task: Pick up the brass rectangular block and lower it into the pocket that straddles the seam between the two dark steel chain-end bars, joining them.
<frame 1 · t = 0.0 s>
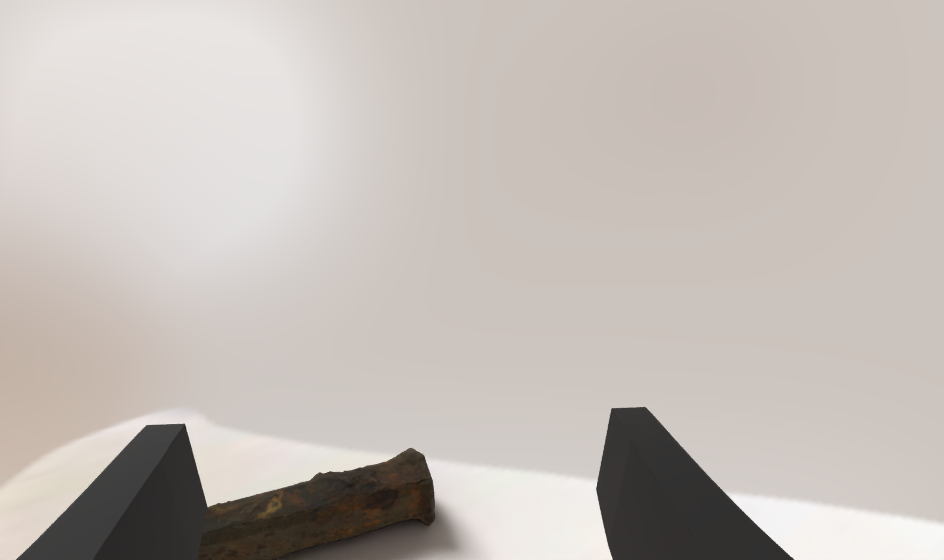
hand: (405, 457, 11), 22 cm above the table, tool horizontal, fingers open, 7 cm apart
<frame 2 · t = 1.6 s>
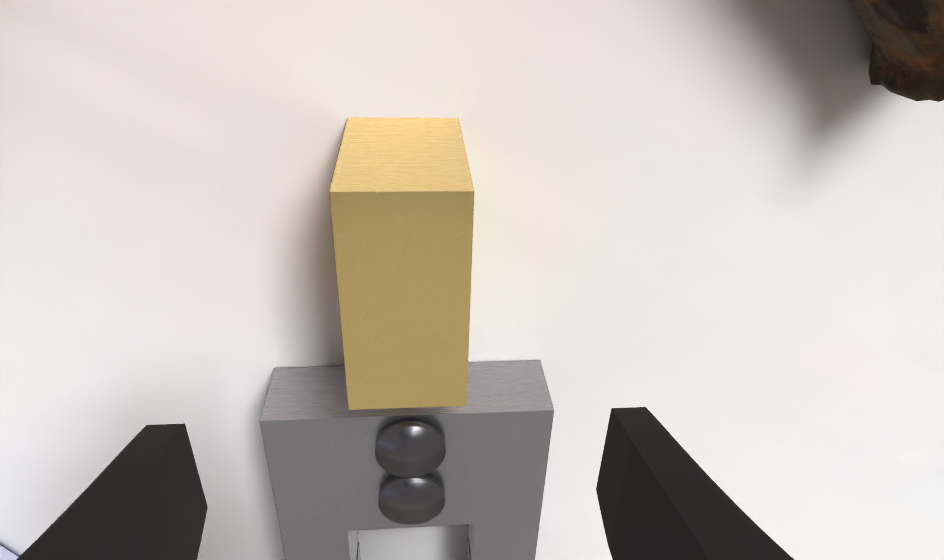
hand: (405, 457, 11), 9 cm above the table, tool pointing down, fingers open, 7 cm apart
brass rectangular block: (405, 216, 19), on the table
chain ends: (413, 535, 27), on the table
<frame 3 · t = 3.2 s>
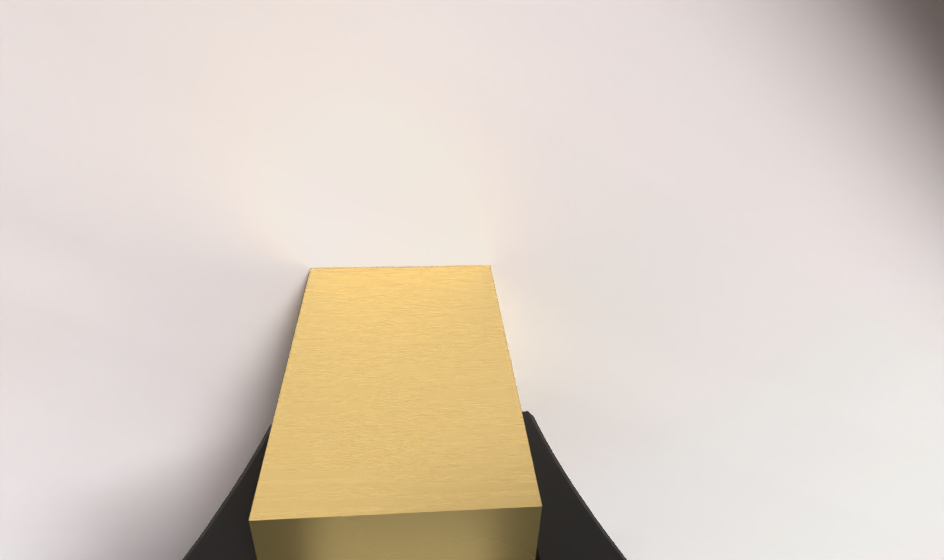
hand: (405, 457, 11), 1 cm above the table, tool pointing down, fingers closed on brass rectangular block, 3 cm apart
brass rectangular block: (405, 402, 13), on the table, touching gripper
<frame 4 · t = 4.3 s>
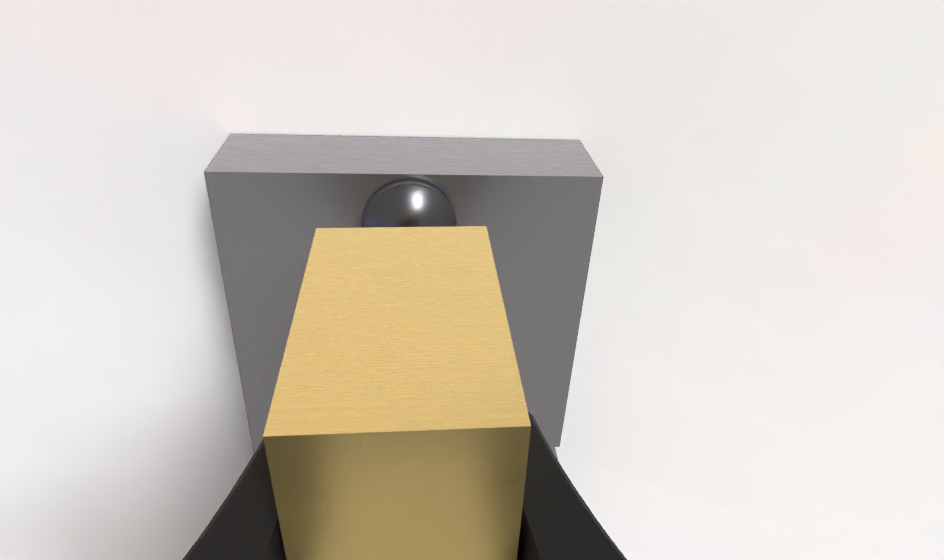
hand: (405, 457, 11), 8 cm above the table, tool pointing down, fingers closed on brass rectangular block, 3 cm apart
brass rectangular block: (406, 359, 13), point 6 cm above the table, touching gripper
chain ends: (410, 399, 22), on the table
when the fingers open (3 cm above the table, at t = 5.9 s): brass rectangular block stays where it is, resting in chain ends.
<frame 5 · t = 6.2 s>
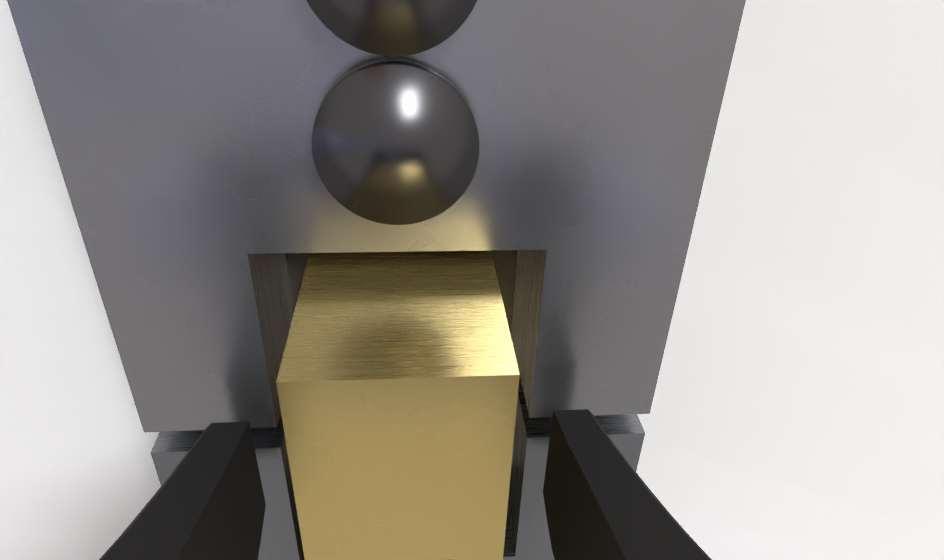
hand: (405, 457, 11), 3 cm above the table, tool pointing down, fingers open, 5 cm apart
brass rectangular block: (405, 334, 14), resting in chain ends
chain ends: (405, 348, 14), on the table
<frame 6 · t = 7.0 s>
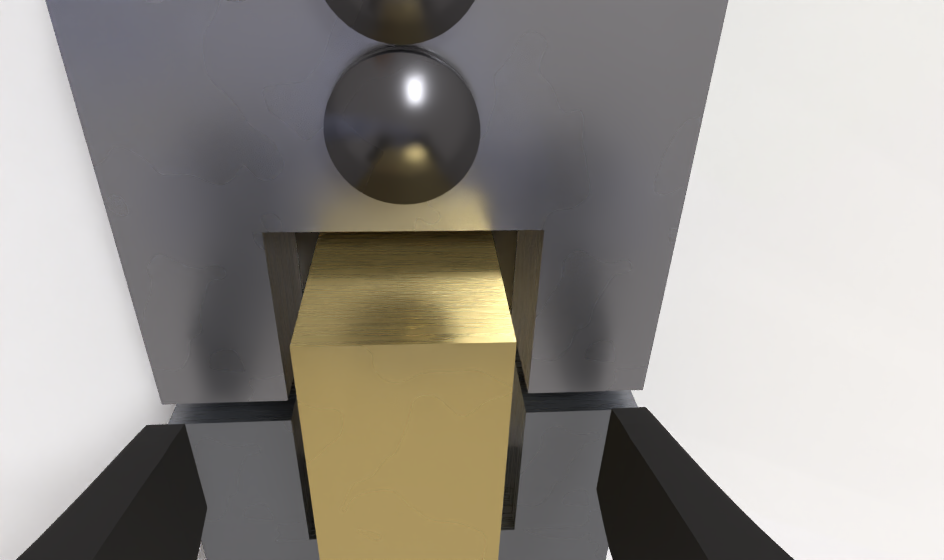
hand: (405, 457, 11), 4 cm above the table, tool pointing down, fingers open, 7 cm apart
brass rectangular block: (409, 316, 14), resting in chain ends
chain ends: (410, 329, 15), on the table
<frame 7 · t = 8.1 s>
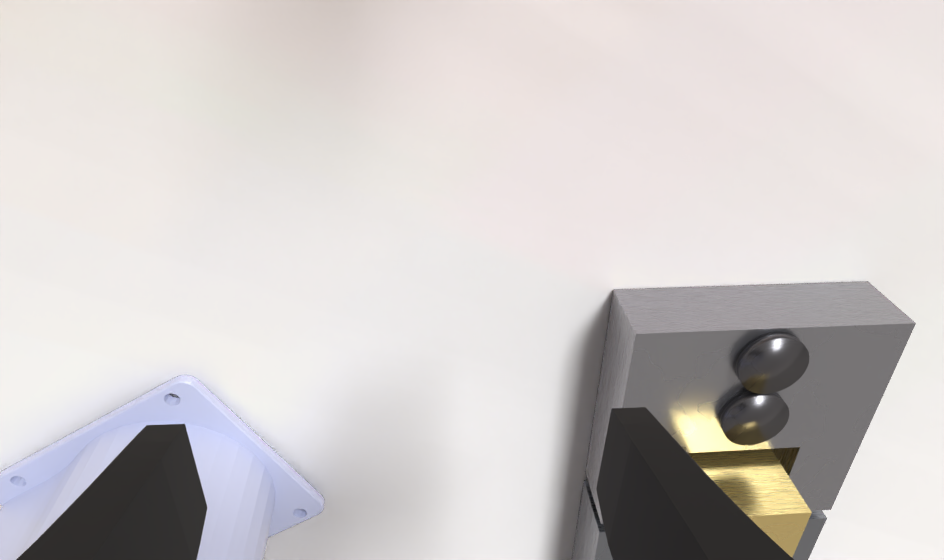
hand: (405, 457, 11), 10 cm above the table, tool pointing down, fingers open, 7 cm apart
brass rectangular block: (691, 463, 27), resting in chain ends
chain ends: (691, 470, 27), on the table
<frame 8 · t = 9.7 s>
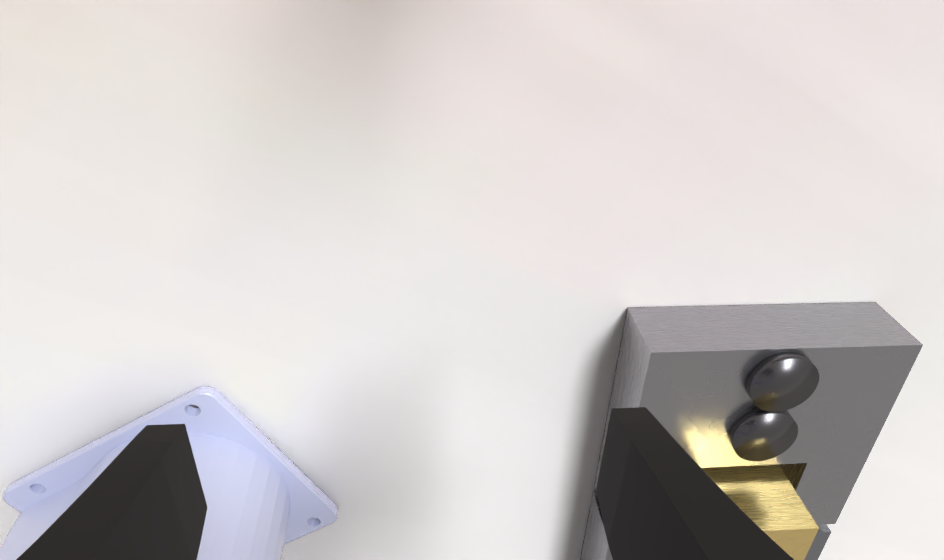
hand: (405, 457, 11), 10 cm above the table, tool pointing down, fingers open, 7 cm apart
brass rectangular block: (698, 476, 27), resting in chain ends
chain ends: (698, 483, 27), on the table
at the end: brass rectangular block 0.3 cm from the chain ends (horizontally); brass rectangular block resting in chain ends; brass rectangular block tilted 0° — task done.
